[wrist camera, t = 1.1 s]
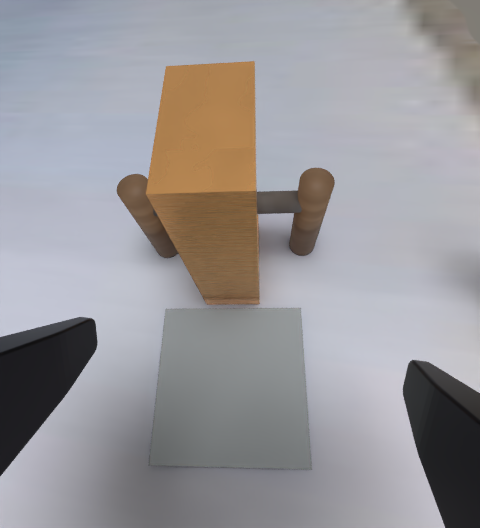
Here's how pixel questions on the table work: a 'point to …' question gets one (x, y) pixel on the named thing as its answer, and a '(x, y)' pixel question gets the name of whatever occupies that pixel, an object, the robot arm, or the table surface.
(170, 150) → the orange c-shaped block
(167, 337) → the grey mat
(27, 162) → the table surface
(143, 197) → the rail stand
